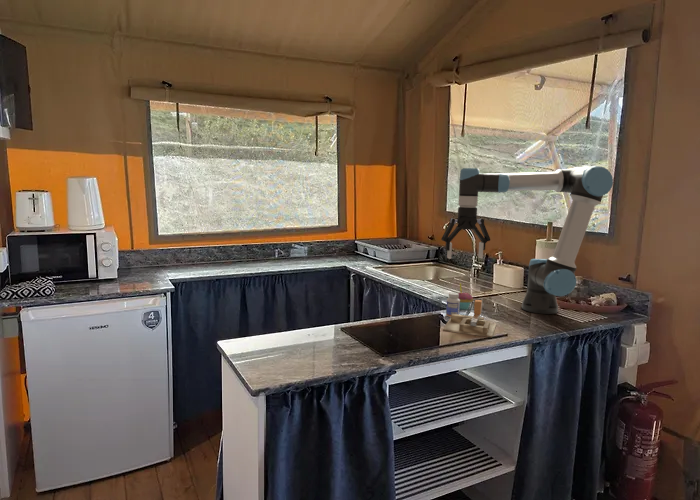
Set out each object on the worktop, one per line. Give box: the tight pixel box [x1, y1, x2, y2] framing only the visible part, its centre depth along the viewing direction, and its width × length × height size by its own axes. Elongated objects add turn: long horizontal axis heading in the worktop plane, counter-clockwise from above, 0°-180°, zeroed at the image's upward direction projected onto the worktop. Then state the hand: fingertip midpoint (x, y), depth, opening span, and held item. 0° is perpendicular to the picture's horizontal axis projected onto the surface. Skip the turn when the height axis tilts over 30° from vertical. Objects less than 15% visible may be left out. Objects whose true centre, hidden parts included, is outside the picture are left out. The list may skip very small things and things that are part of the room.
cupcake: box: [457, 282, 474, 310], centre depth 214 cm, size 9×8×12 cm
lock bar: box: [470, 299, 483, 326], centre depth 184 cm, size 2×14×6 cm, turn 159°
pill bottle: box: [445, 292, 461, 318], centre depth 201 cm, size 5×5×10 cm
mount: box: [442, 313, 497, 338], centre depth 186 cm, size 18×16×3 cm
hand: (464, 258), depth 199 cm, fingers open, 13 cm apart
